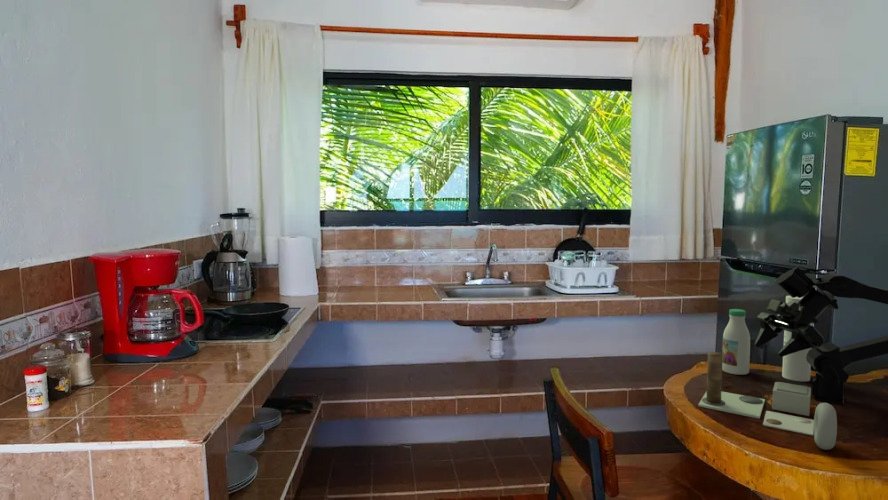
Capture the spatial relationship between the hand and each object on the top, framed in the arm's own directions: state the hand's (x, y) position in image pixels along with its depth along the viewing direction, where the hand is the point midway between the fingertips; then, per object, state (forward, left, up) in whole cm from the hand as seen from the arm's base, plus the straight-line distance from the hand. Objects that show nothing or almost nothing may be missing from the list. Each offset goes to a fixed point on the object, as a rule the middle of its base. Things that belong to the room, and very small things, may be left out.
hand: (767, 350), depth 142 cm
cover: (-6, +3, -14) cm, 15 cm away
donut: (-13, +26, -14) cm, 32 cm away
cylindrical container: (-6, -26, -14) cm, 30 cm away
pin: (+11, +12, -13) cm, 21 cm away
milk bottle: (+10, -22, -14) cm, 28 cm away
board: (+7, +9, -14) cm, 18 cm away
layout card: (-6, +15, -14) cm, 21 cm away
